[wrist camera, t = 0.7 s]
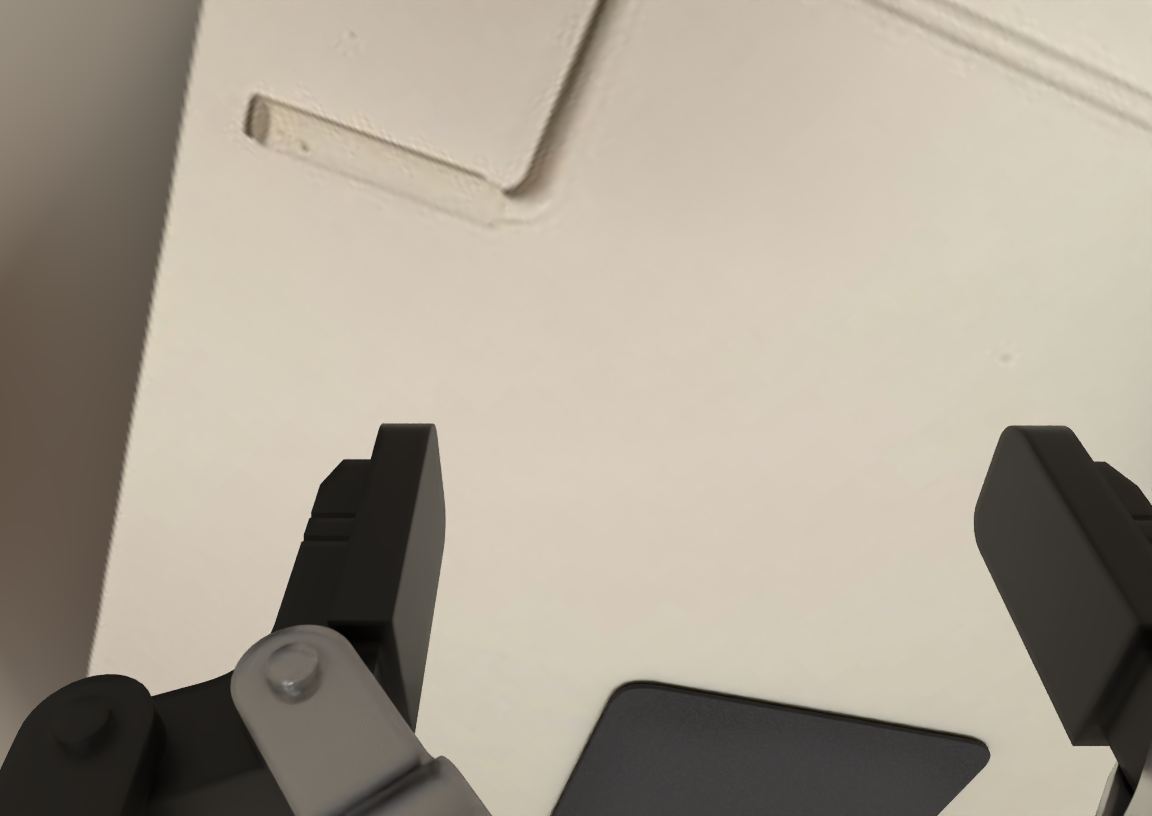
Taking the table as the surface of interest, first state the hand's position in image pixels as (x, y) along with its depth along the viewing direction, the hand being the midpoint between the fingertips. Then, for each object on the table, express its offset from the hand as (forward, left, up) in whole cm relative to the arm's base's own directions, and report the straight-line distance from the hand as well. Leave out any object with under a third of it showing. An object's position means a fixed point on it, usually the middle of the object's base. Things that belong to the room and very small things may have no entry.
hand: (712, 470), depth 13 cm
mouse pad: (+44, +15, -21) cm, 51 cm away
